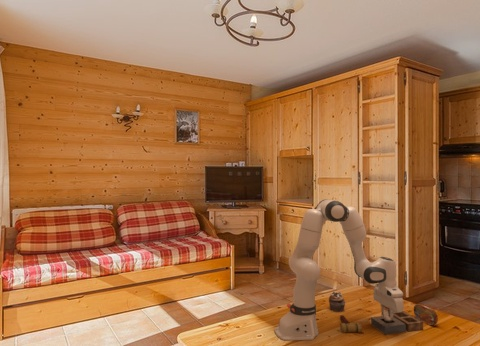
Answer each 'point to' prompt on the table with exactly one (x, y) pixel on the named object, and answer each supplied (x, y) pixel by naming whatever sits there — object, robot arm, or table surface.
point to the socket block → (388, 325)
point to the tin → (425, 314)
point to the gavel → (349, 326)
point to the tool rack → (408, 321)
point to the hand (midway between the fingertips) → (387, 314)
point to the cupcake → (336, 302)
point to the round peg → (387, 315)
